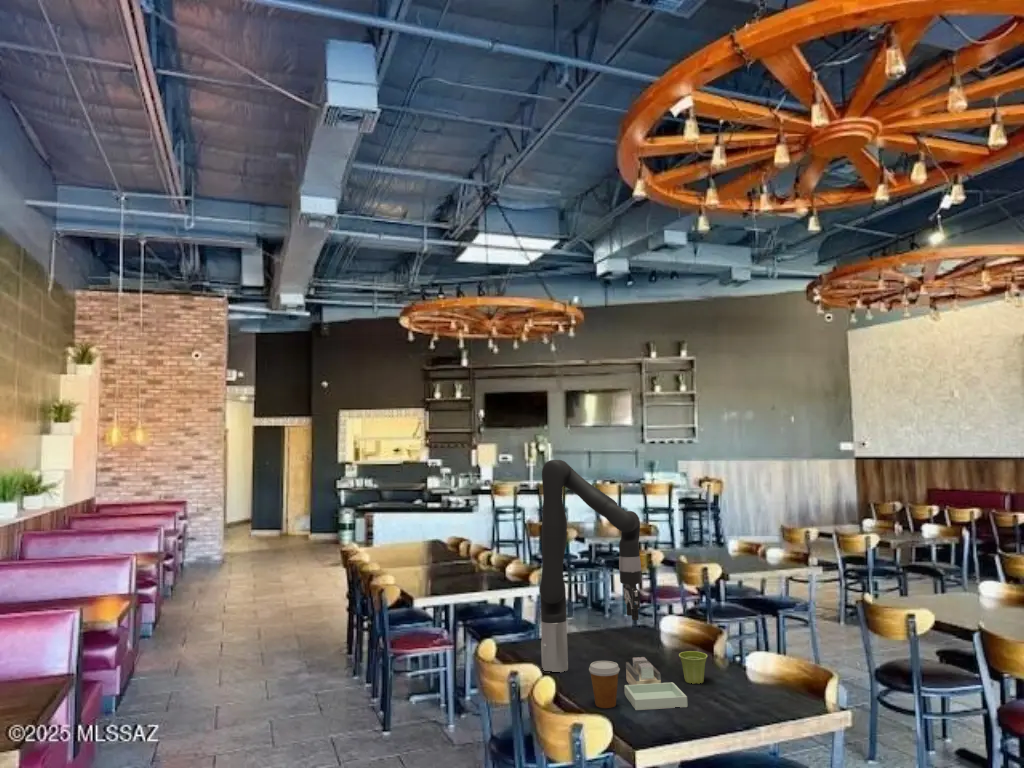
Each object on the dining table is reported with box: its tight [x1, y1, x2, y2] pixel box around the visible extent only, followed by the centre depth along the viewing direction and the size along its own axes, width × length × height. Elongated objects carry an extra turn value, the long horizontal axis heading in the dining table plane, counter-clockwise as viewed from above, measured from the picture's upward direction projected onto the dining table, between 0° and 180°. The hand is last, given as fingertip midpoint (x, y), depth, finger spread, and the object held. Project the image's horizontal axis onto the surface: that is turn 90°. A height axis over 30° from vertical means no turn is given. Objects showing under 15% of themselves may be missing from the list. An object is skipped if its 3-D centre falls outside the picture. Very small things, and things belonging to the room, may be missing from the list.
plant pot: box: [678, 650, 708, 685], centre depth 242 cm, size 9×9×9 cm
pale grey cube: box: [638, 662, 654, 680], centre depth 235 cm, size 4×4×4 cm
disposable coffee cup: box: [588, 660, 621, 709], centre depth 223 cm, size 10×10×12 cm
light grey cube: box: [632, 656, 649, 673], centre depth 242 cm, size 4×4×4 cm
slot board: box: [625, 660, 662, 685], centre depth 239 cm, size 8×14×6 cm, turn 5°
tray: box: [623, 682, 688, 711], centre depth 225 cm, size 16×14×3 cm
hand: (632, 617), depth 251 cm, fingers open, 6 cm apart
